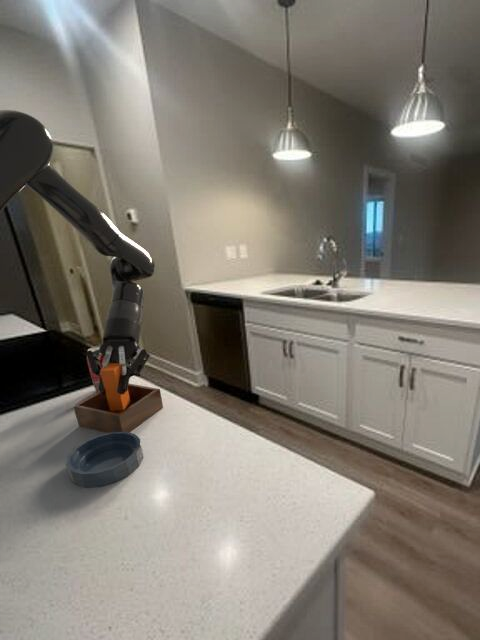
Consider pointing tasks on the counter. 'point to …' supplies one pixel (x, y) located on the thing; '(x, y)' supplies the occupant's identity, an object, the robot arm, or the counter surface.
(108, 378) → the block
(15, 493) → the counter surface
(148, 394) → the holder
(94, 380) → the soda can
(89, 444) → the bowl
